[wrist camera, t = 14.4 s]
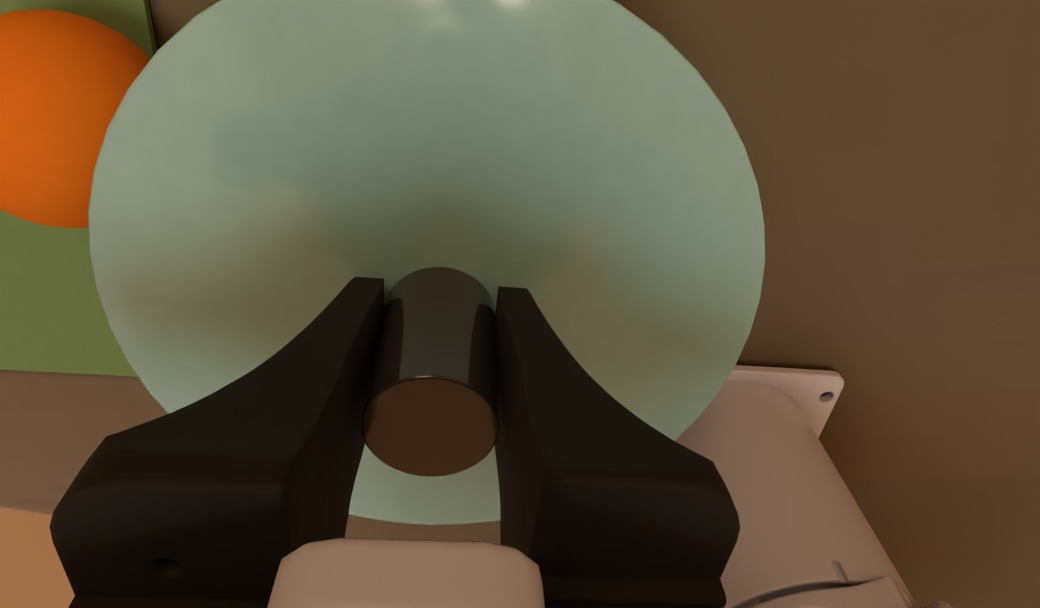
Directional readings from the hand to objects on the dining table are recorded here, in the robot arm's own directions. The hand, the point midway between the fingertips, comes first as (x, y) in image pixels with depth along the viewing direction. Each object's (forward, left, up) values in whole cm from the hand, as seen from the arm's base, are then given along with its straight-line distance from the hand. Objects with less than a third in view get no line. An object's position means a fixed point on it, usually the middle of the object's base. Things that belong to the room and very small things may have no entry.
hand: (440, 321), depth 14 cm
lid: (0, 0, -1) cm, 1 cm away
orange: (+2, +9, -4) cm, 10 cm away
